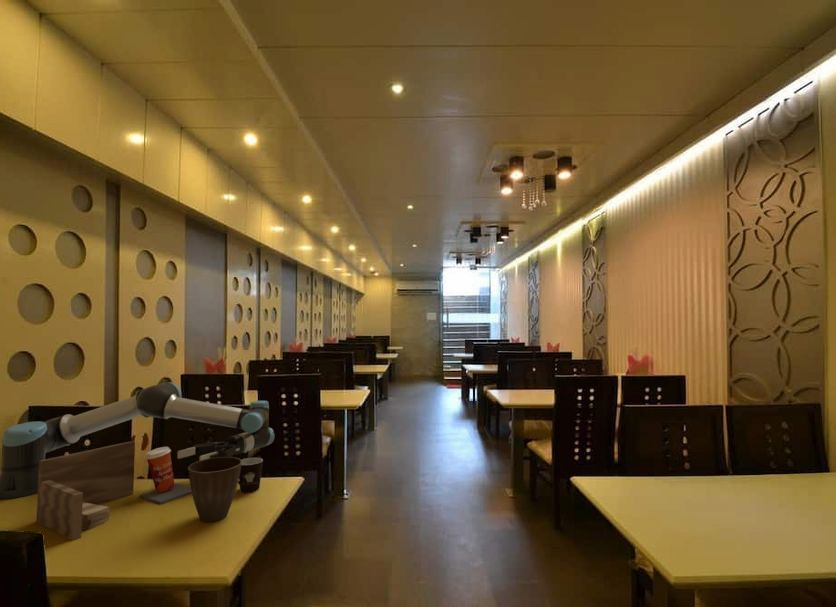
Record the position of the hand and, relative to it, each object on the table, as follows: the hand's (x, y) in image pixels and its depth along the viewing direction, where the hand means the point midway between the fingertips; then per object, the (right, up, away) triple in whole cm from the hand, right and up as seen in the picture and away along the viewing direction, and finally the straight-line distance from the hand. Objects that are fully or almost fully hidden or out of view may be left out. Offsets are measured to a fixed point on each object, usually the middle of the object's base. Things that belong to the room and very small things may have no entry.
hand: (188, 457), depth 154 cm
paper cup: (-6, -10, -4) cm, 12 cm away
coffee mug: (+21, -11, -1) cm, 24 cm away
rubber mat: (-4, -11, -5) cm, 13 cm away
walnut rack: (-15, -10, -21) cm, 28 cm away
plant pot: (+21, -10, -24) cm, 34 cm away
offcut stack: (-17, -10, -27) cm, 33 cm away
